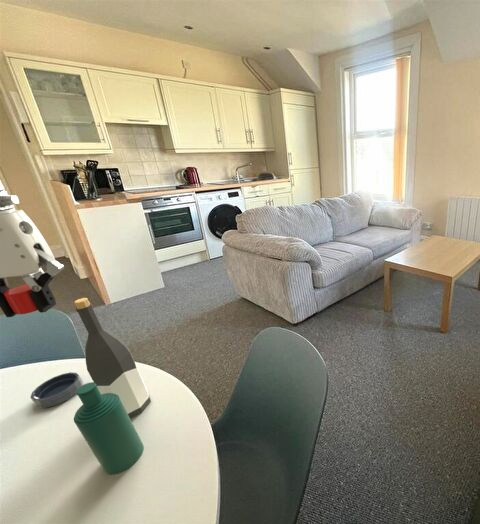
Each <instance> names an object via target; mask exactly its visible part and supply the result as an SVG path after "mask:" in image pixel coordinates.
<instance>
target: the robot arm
mask: <svg viewBox="0 0 480 524" xmlns="http://www.w3.org/2000/svg"><path fill="white" fill-rule="evenodd" d="M19 203H20V199H19V197H18V196H17V195H14V194H12V195H10V194H9V193H8V190H6V188H5V186H4V184H3V182H2V180H1V179H0V309H1V311H2V312H3V314H4V316H5V317H6V318H12V317H14V316H17V314H15V313H14V311H13V310H12V308H11V306H10V305H9V303H8V301H7V300H6V297H5V295H4V293H5V292H6V291H8V290H10V289H12V288H10V283H9V281H8V278H13V277H14V278H15V277H20V278H21V279H22V280H23V281H24V282H25V284H26V285H28V286H29V287H30V288H31V290H33V291H32V292H30V296H31V298H32V300H33V302H34V304H35V305H36V307H37V309H38V310H37V312H39V313H41V314H42V313H46V312H48V311H49V310H51V309H52V308H54V307H55V306H56V305H57V302H56V297H55V296H54V294H53V292H52V290H51V288H50V286H49V285H51V284H52V280H53V279H55V276H56V275H58V274H59V273H60V272H61V271H63V270H64V269H65V265H64V264H62V263H61V262H59V261H58V260H57V259H55V256H54V254H53V251H52V250H51V247H50V246H49V245H48V243H47V241H46V239H45V238H44V235H42V233H41V231H40V230H39V228H38V227H37V226H36V224H35V222H34V221H33V220H32V219H31V217H29V216H28V215H27V213H25V211H24V210H23V209H16V207H15V205H18V204H19ZM42 267H45V269H46V270H45V271H44V270H43V269H42Z"/></svg>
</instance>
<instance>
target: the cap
mask: <svg viewBox="0 0 480 524" xmlns="http://www.w3.org/2000/svg"><path fill="white" fill-rule="evenodd" d="M9 289H10V290H8V291H6V292H5V293H4V295H5V297H6V300H7V301H8V303H9V305H10V306H11V308H12V310H13V311H14V313H15V314H16V315H19V316H20V315H27V314H30V313H34V312H36V311H37V312H38V309H37V307H36V305H35V304H34V302H33V300H32V298H31V296H30V292H32V291H33V290H31V288H30V287H29V286H28V285H27V284H22V285H19V286H15V287H13V288H12V289H11V288H9Z"/></svg>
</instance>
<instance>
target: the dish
mask: <svg viewBox="0 0 480 524" xmlns="http://www.w3.org/2000/svg"><path fill="white" fill-rule="evenodd" d="M83 383H84V382H83V379H82V378H81V375H80V374H78V372H72V371H70V372H65V373H61V374H59V375H56V376H53V377H51V378H49V379H47V380H46V381H44V382H42V383H41V384H39V385H38V386H37V387H36V388H35V389H34V390H33V391H32V392H31V394H30V396H29V397H30V399H31V401H32V402H33V404H34V405H35V406H36V407H37V408H39V409H40V408H41V409H45V408H50V407H54V406H57V405H60V404H61V403H64V402H66V401H68V400H70V399H71V398H72V397H74V396H75V395H77V394H76V393H77V390H78V389H79V388H80V387H81V386H83V385H84V384H83Z"/></svg>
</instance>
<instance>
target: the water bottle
mask: <svg viewBox="0 0 480 524" xmlns="http://www.w3.org/2000/svg"><path fill="white" fill-rule="evenodd" d="M75 395H76V396H78V398H79V399H80V401H81V403H82V405H81V406H80V407H78V409H77V410H76V412H75V413H74V416H73V422H74V424H75V425H76V427H77V429H78V430H79V432H80V434H81V435H82V437H83V438H84V440H85V442H86V444H87V445H88V447H89V448H90V450H91V452H92V453H93V455H94V457H95V458H96V459H97V461H98V463H99V465H100V466H101V468H102V469H103V471H104V473H105V474H107V475H117V474H120V473H122V472H124V471H126V470H128V469H129V468H131V467H132V466H133V465H135V464H136V462H137V461H138V460H139V459H140V458H141V457H142V455H143V452H144V448H145V447H144V443H143V441H142V440H141V438H140V436H139V434H138V431H137V430H136V428H135V426H134V424H133V421H132V420H131V418H129V416H128V414H127V412H126V410H125V408H124V406H123V404H122V402H121V400H120V398H119V396H118V395H117V394H113V393H106V394H101V393H100V391H99V389H98V387H97V384H95V383H94V382H93V381H92V382H87V383H84V384H82V386H81V387H80V388H79V389H78V390H77V393H76V394H75Z"/></svg>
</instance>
